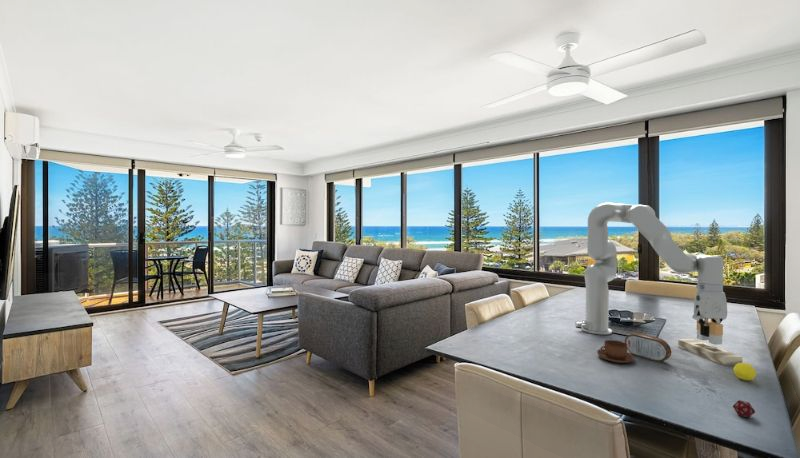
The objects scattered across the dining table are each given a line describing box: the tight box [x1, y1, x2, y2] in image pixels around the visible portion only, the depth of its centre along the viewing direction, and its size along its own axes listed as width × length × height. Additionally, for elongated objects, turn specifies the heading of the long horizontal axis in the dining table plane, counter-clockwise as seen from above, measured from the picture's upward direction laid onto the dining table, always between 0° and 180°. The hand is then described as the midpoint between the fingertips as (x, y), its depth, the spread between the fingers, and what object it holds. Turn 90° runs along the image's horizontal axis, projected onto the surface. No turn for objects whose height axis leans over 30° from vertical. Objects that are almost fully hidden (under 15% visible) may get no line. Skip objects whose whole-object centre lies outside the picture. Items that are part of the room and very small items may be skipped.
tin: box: [624, 332, 672, 363], centre depth 141 cm, size 15×3×8 cm, turn 34°
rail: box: [677, 338, 743, 366], centre depth 144 cm, size 20×7×3 cm, turn 5°
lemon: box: [733, 362, 757, 381], centre depth 122 cm, size 7×5×5 cm
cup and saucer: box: [596, 339, 635, 364], centre depth 139 cm, size 12×12×6 cm
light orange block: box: [696, 319, 724, 346], centre depth 144 cm, size 8×3×8 cm, turn 5°
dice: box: [732, 399, 756, 419], centre depth 98 cm, size 4×4×4 cm
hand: (709, 335), depth 144 cm, fingers closed on light orange block, 3 cm apart
